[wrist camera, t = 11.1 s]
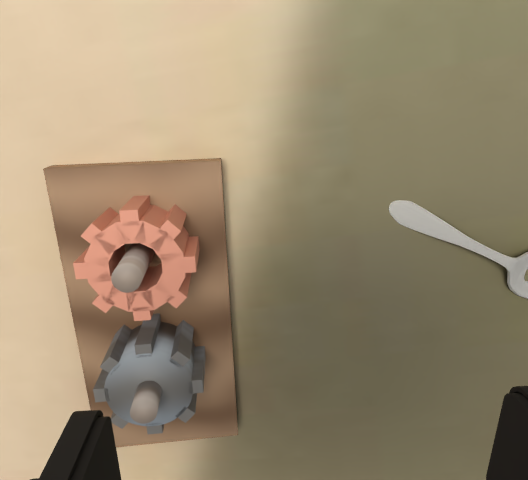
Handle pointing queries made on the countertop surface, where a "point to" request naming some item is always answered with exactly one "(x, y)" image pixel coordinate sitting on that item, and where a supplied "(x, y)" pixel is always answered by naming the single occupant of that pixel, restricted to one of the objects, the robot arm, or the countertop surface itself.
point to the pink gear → (151, 235)
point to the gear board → (164, 317)
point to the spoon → (459, 241)
